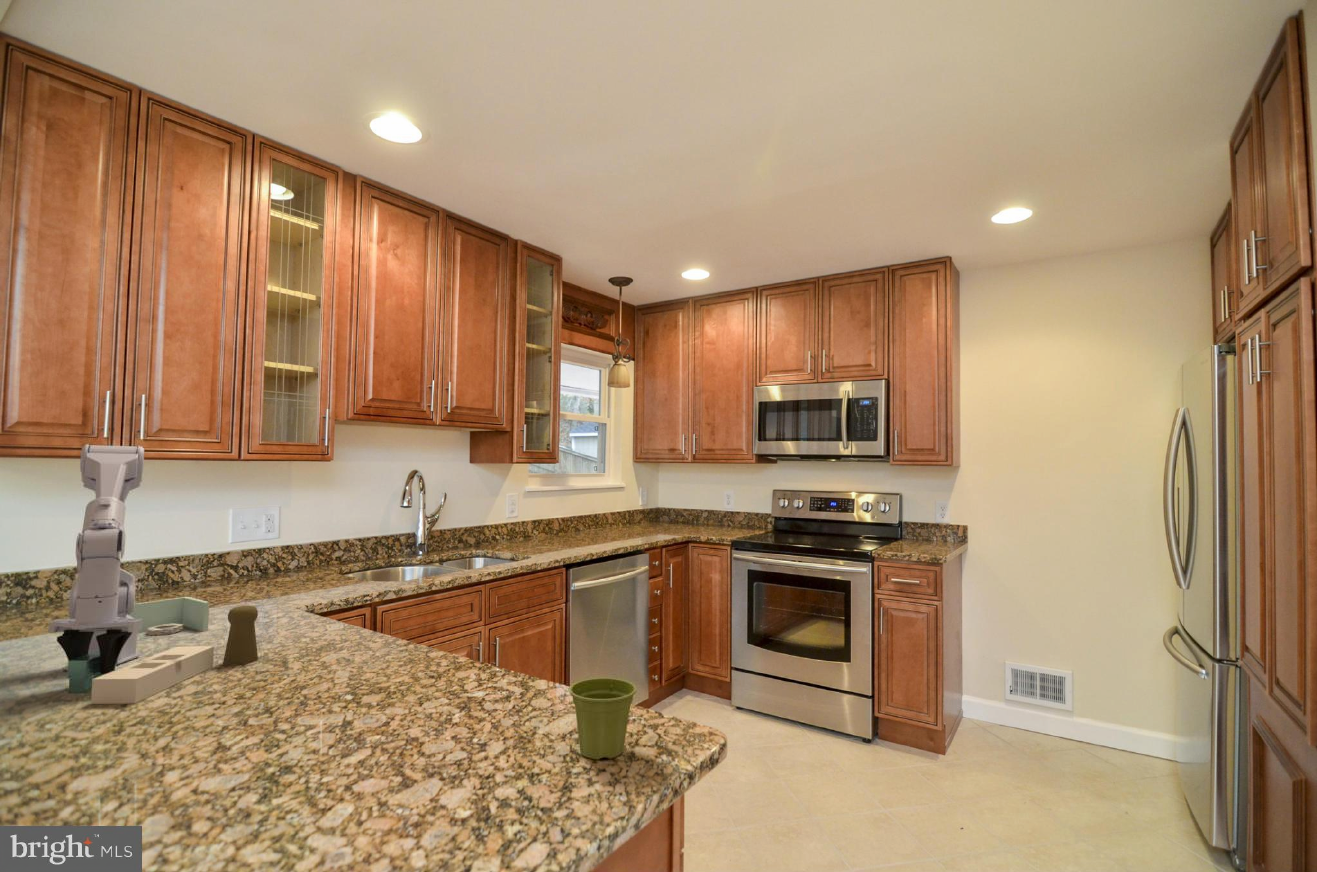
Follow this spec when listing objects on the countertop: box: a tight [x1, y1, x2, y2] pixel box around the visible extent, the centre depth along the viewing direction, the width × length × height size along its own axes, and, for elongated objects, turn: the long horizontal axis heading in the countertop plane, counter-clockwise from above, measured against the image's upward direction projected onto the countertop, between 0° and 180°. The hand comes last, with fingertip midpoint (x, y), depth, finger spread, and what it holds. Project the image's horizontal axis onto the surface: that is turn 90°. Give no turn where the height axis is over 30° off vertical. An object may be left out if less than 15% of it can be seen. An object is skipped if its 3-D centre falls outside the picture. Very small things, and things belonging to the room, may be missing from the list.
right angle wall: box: [129, 596, 210, 637], centre depth 151 cm, size 12×12×8 cm
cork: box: [222, 605, 259, 666], centre depth 129 cm, size 6×6×11 cm
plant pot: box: [568, 677, 637, 760], centre depth 89 cm, size 9×9×9 cm
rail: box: [90, 645, 215, 705], centre depth 115 cm, size 20×7×4 cm, turn 3°
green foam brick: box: [66, 650, 118, 694], centre depth 113 cm, size 7×3×6 cm, turn 3°
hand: (92, 672), depth 113 cm, fingers open, 4 cm apart
